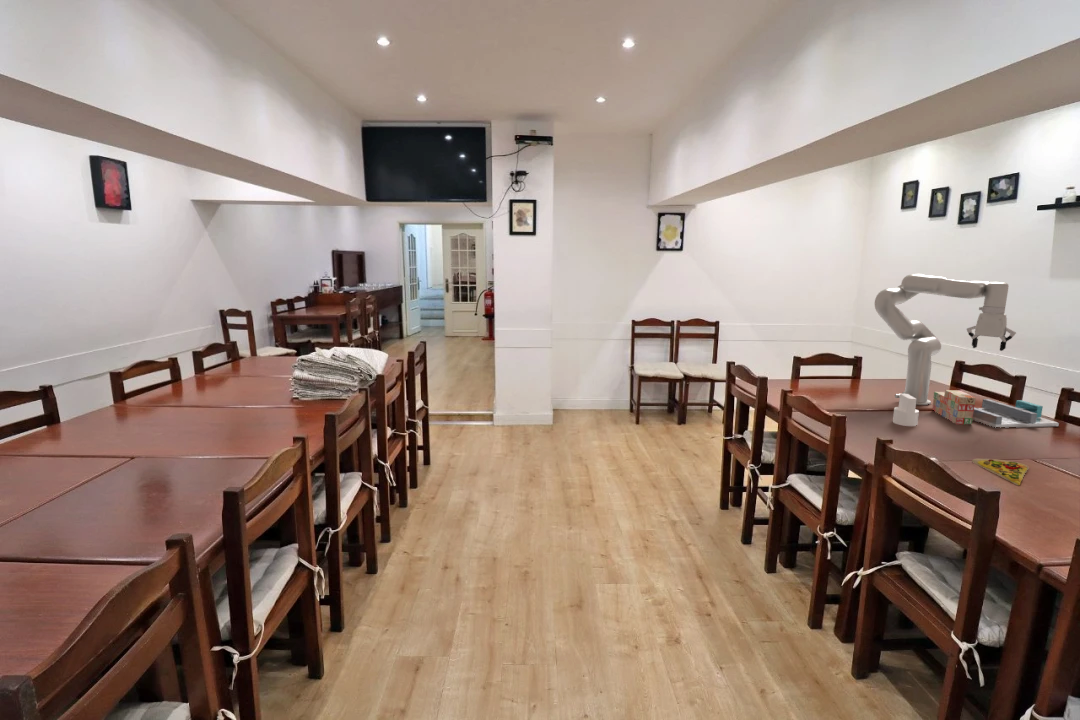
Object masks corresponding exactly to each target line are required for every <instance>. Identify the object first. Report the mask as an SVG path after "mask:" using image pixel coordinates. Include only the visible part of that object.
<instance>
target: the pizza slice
mask: <svg viewBox="0 0 1080 720" xmlns="http://www.w3.org/2000/svg"><path fill="white" fill-rule="evenodd" d="M971 462H972V463H973V462H974V463H973V464H975V465H977V466H979V467H980V468H982V467H983V469H984V468H985V469H984V470H987V471H988V472H991V473H993V474H994V475H996V474H997V476H999V477H1000V476H1001V477H1000V478H1002V479H1004V480H1006V481H1008V482H1010V483H1012V484H1014V485H1016V486H1020V485H1021V482H1022V481H1023V479H1024V478H1025V476H1026V474H1027V472H1028V471H1029V468H1030V467H1029V465H1027V464H1025V463H1021V462H1015V461H1011V460H1004V459H997V458H995V459H994V458H974V459H973V458H972V460H971ZM1027 470H1028V471H1027ZM1025 473H1026V474H1025ZM1024 475H1025V476H1024ZM1023 477H1024V478H1023Z"/></svg>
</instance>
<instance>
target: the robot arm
mask: <svg viewBox="0 0 1080 720" xmlns="http://www.w3.org/2000/svg"><path fill="white" fill-rule="evenodd" d="M1008 293H1009V284H1008V283H1007V282H1004V281H1003V282H1002V281H1001V282H999V281H990V282H989V281H982V280H971V281H968V280H967V281H966V280H955V279H949V278H948V279H947V278H946V277H944V276H935V275H926V274H923V273H911V274H908V275H906V276H904V277H903V278H902V280H901V284H900V285H898V286H897V287H892V288H891V287H890V288H885V289H882V290H880V292H878V293H877V295H876V297H875V299H874V309H875V311H876V312H877V313H876V314H878V315H879V316H880V318H881V319H882V320H883V322H885V324H887V326H888V327H889V328H890V329H891V330H892V332H894V334H895V335H896V336H897V337H898V338H899V339H900V340H902V341H911V342H910V343H909V345H908V348H907V371H906V378H905V388H904V391H902V393H896V394H895V395H894V398H895V399H900V394H909V395H910V396H912V397H914V398H916V406H929V405H931V404H932V401H931V400H930V399H928V398H929V397H928V396H929V391H930V381H931V374H932V373H931V372H932V357H933V356H936V355H938V354H939V353H940V351H941V349H942V343H941V341H940V340H939V339H938V337H937V336H936V335H935V334H934V333H933V332H932V331H931V330H930V329H929V327H927V326H926V324H925V323H923V322H921V321H919V320H916V319H909V318H908V316H907V315H906V314H904V312H903V311H902V310H900V309H899V308H898V307H897V306H896V305H901V304H903V303H904V304H905V303H906V302H907V301H909V300H911V299H913V298H914V297H915V296H917V295H919V294H927V295H935V296H940V297H942V296H944V297H949V298H950V297H951V298H959V299H969V300H970V299H971V300H972V299H979V298H983V299H984V300H983V304H982V306H979V307H978V310H979V311H981V312H980V313H979V314H978V318H977V320H976V323H975V325H973V326H970V327H967V328H966V332H967V334H968V335H969V336H970V337H971V339H972V340H971V346H972V348H973V349H975V348H977V347H978V341H979V336H981V337H991V338H1000V340H1001V341H1000V344H999V345H1000V346H999V351H1001V352H1002V351H1004V350H1005V349H1007V342H1008V341H1009V340H1011V339H1013V337H1014V336H1015V335H1016V334H1017V332H1016V331H1014V330H1012V329H1010V328H1008V327H1007V325H1008V324H1007V323H1008V322H1007V321H1008V320H1007V319H1008V318H1007V314H1006V313H1005V312H1006V305H1007V298H1008ZM973 330H974V333H973ZM1006 333H1008V334H1009V336H1007V337H1006ZM928 404H929V405H928Z"/></svg>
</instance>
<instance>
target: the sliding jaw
mask: <svg viewBox="0 0 1080 720" xmlns="http://www.w3.org/2000/svg"><path fill="white" fill-rule="evenodd" d="M981 408H985V409H988V410H991V411H994V412H997V413H1001V414H1004V415H1007V416H1010V417H1013V418H1016V419H1019V420H1023V421H1026V422H1029V423H1036V418H1038V417H1041V418H1042V414H1043V413H1042V412H1043V405H1040V404H1036V403H1033V402H1030V401H1029V402H1028V401H1025V400H1022V399H1020V400H1019V399H1018V400H1017V399H1016V401H1015V406H1013V405H1009V404H1006V403H1003V402H999V401H996V400H992V399H990V398H984V399H983V398H982V405H981Z"/></svg>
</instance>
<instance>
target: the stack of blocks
mask: <svg viewBox="0 0 1080 720" xmlns="http://www.w3.org/2000/svg"><path fill="white" fill-rule="evenodd" d="M976 400H977V398H976V397H975V396H972V395H971V394H969V393H967V392H965V391H962V390H959V389H958V390H953V389H952V390H950V389H949V390H948V389H945V390H944V391H934V392H933V400H932V401H933V402H932V409H931V410H934V411H935V413H936V412H937V413H938V414H937V413H936V414H937V415H939V414H940V415H939V416H941V415H942V416H941V417H943V416H944V417H946V418H947V419H946V418H945V419H946V420H948V419H949V420H950V421H949V420H948V421H949V422H951V421H952V422H951V423H953V422H954V423H956V424H955V425H965V424H972V423H973V420H972V419H973V418H972V417H973V411H974V407H976V404H975V403H976ZM934 411H933V412H934ZM944 417H943V418H944ZM954 423H953V424H954Z"/></svg>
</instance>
